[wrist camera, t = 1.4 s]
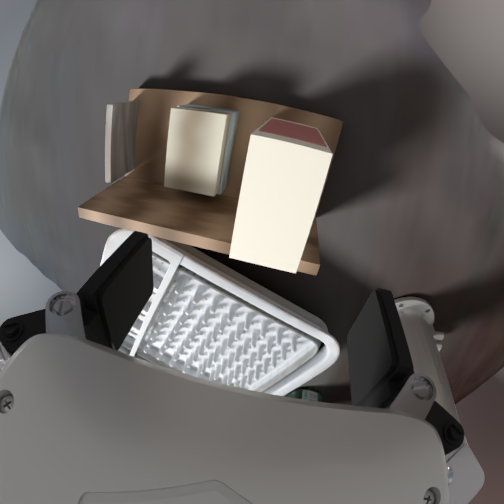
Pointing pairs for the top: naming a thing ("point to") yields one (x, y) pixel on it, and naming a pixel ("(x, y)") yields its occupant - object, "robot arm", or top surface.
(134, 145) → the shelf
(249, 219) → the boxed book
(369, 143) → the top surface
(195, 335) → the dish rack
